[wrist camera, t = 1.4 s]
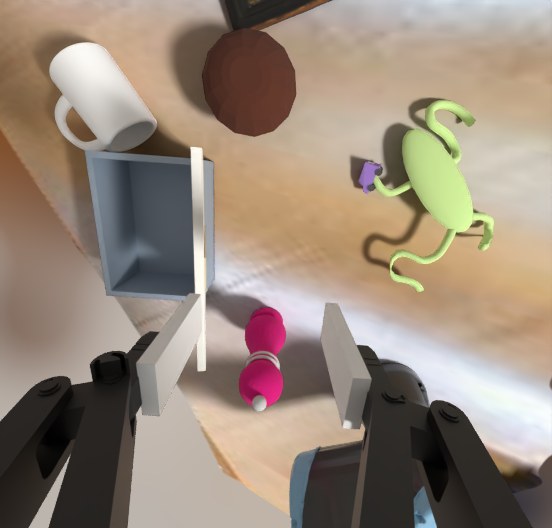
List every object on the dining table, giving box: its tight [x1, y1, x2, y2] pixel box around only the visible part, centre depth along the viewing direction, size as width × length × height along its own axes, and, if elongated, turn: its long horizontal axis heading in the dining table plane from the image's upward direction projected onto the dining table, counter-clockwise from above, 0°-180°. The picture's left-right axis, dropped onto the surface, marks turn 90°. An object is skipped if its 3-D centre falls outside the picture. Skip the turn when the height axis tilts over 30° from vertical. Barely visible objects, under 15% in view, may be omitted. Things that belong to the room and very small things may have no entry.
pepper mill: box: [239, 307, 286, 411], centre depth 41 cm, size 7×7×20 cm
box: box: [85, 150, 214, 301], centre depth 40 cm, size 20×14×9 cm
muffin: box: [202, 28, 296, 137], centre depth 34 cm, size 12×11×10 cm
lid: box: [191, 147, 206, 372], centre depth 30 cm, size 21×14×1 cm
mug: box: [49, 42, 157, 153], centre depth 36 cm, size 12×10×8 cm
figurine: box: [359, 100, 494, 292], centre depth 41 cm, size 18×27×6 cm
